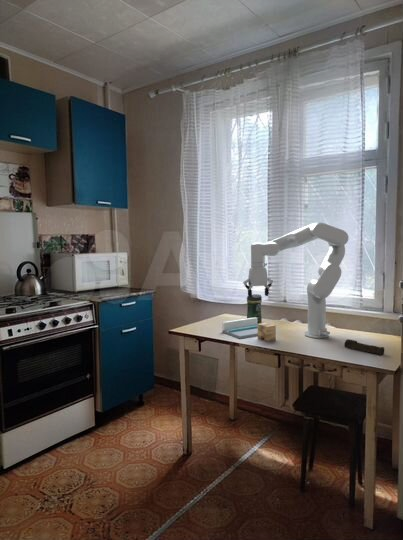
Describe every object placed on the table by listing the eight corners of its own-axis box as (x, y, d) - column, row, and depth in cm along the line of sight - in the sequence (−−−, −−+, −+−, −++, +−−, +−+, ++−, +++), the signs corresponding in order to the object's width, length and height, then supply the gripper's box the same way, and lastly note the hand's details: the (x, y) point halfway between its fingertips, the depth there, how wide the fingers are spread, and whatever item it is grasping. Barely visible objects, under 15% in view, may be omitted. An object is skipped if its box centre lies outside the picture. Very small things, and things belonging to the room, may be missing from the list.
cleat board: (274, 332, 223) (274, 322, 223) (240, 338, 211) (239, 328, 211) (255, 326, 239) (255, 317, 238) (222, 332, 227) (222, 322, 227)
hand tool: (385, 354, 180) (385, 345, 180) (381, 356, 178) (381, 346, 177) (347, 346, 195) (347, 337, 194) (343, 348, 192) (343, 339, 192)
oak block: (275, 340, 208) (275, 325, 208) (266, 341, 205) (266, 326, 205) (266, 336, 215) (266, 322, 215) (257, 338, 212) (257, 324, 212)
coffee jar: (254, 325, 243) (253, 296, 242) (244, 323, 249) (244, 294, 248) (264, 322, 250) (263, 294, 248) (254, 320, 256) (254, 293, 254)
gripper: (269, 264, 218) (269, 294, 220) (240, 265, 214) (241, 296, 216) (275, 265, 211) (275, 296, 213) (245, 266, 207) (246, 298, 208)
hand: (258, 296), depth 214 cm, fingers open, 9 cm apart
